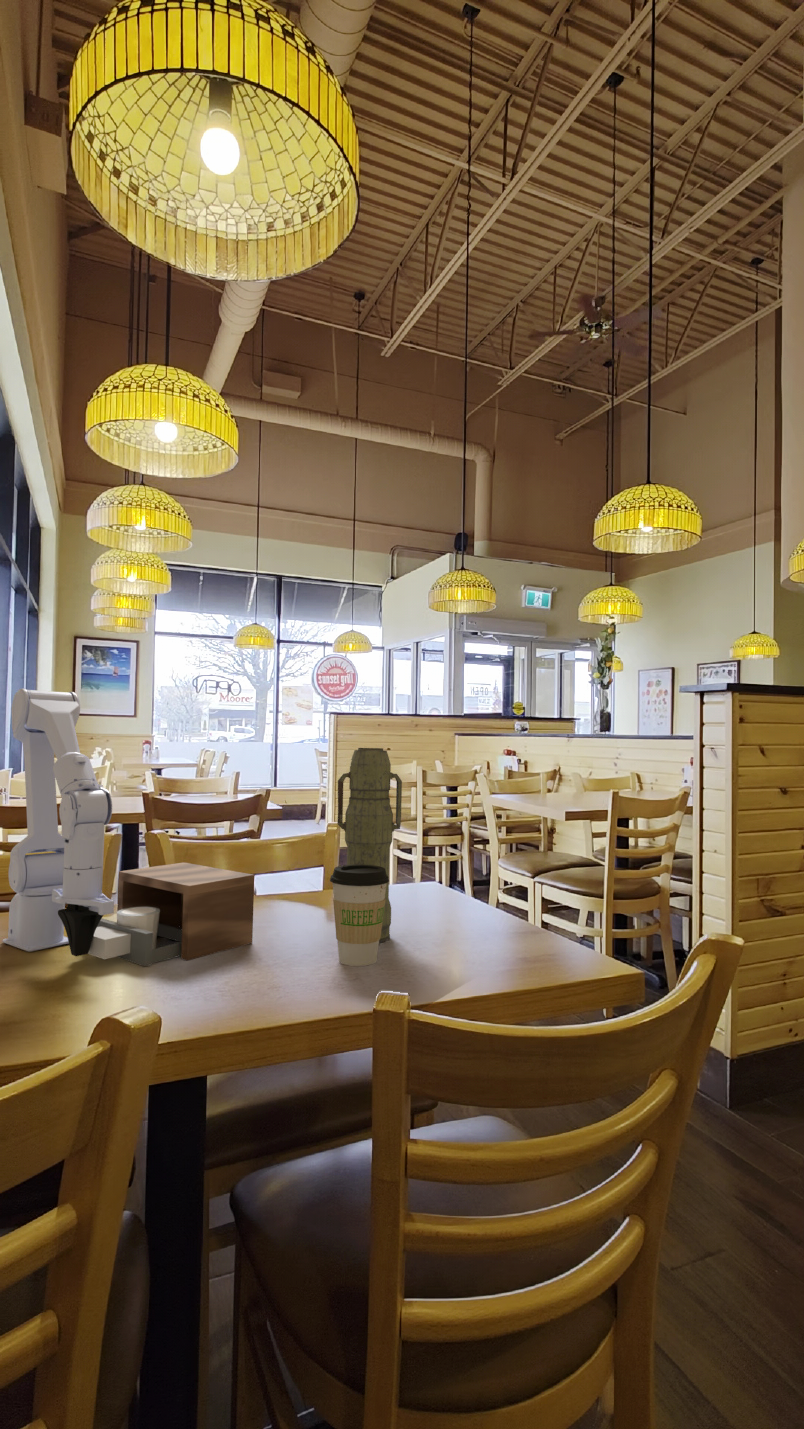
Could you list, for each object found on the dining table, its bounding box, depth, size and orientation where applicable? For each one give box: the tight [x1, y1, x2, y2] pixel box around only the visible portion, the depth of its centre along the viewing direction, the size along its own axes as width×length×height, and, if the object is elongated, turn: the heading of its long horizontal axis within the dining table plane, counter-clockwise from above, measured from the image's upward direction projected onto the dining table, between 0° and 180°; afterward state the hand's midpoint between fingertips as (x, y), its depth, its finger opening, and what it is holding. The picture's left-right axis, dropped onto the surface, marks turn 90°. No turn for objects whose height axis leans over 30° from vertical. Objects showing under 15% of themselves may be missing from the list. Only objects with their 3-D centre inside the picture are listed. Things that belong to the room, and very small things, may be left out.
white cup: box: [116, 907, 160, 949], centre depth 121 cm, size 7×7×7 cm
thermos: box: [336, 747, 403, 944], centre depth 135 cm, size 9×12×35 cm
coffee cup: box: [329, 864, 390, 967], centre depth 120 cm, size 10×10×15 cm
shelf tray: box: [87, 917, 182, 967], centre depth 122 cm, size 16×18×5 cm
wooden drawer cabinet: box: [116, 862, 255, 961], centre depth 129 cm, size 20×14×12 cm
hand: (79, 954), depth 113 cm, fingers closed, pressing on shelf tray
